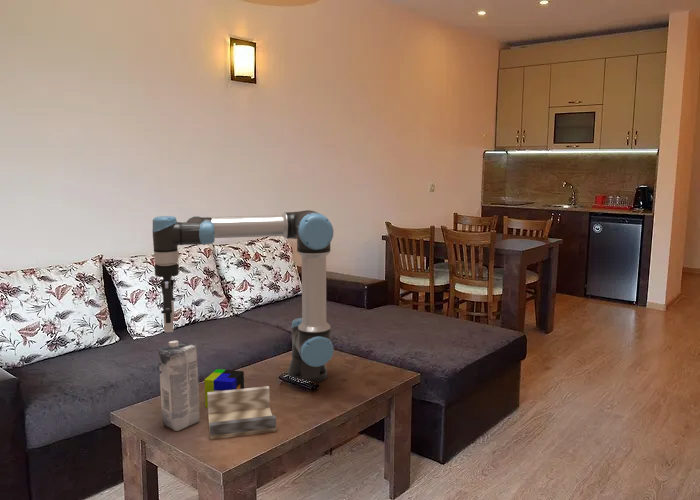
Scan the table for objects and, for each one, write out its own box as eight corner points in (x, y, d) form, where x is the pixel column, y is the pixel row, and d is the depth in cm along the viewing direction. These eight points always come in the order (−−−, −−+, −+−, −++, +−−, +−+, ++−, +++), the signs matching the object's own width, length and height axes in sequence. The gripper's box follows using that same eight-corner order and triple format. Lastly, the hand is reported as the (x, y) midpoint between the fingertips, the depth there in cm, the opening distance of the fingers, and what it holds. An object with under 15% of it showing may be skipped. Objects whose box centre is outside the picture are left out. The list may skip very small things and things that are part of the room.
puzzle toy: (233, 410, 196) (232, 382, 194) (205, 407, 198) (204, 379, 196) (244, 398, 206) (243, 371, 204) (217, 395, 208) (216, 369, 206)
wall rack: (269, 408, 197) (268, 386, 196) (276, 431, 181) (275, 407, 180) (208, 415, 192) (207, 392, 191) (210, 439, 176) (209, 414, 175)
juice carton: (203, 421, 188) (200, 341, 183) (176, 434, 179) (171, 350, 175) (186, 414, 193) (182, 335, 188) (158, 425, 185) (154, 344, 180)
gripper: (156, 257, 203) (159, 316, 206) (152, 271, 179) (155, 338, 182) (179, 256, 204) (181, 315, 208) (177, 270, 181) (180, 336, 184)
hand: (169, 326), depth 195 cm, fingers open, 13 cm apart
